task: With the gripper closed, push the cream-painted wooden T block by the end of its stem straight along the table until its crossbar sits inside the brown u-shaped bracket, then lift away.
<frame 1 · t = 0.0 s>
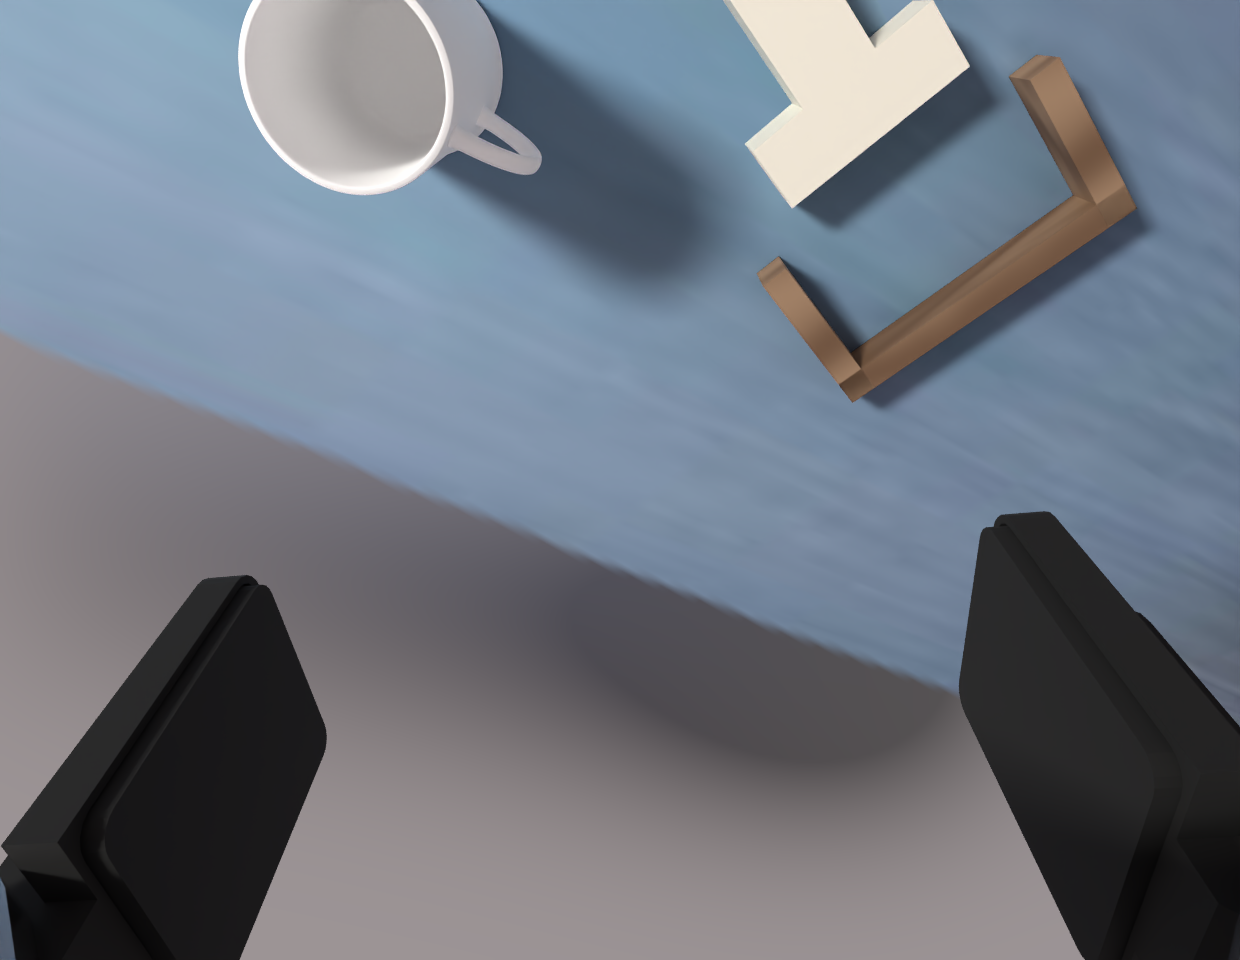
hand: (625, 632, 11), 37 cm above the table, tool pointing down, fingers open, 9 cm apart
t block: (808, 49, 40), on the table
mug: (447, 86, 41), on the table
brown u-shaped bracket: (925, 229, 44), on the table
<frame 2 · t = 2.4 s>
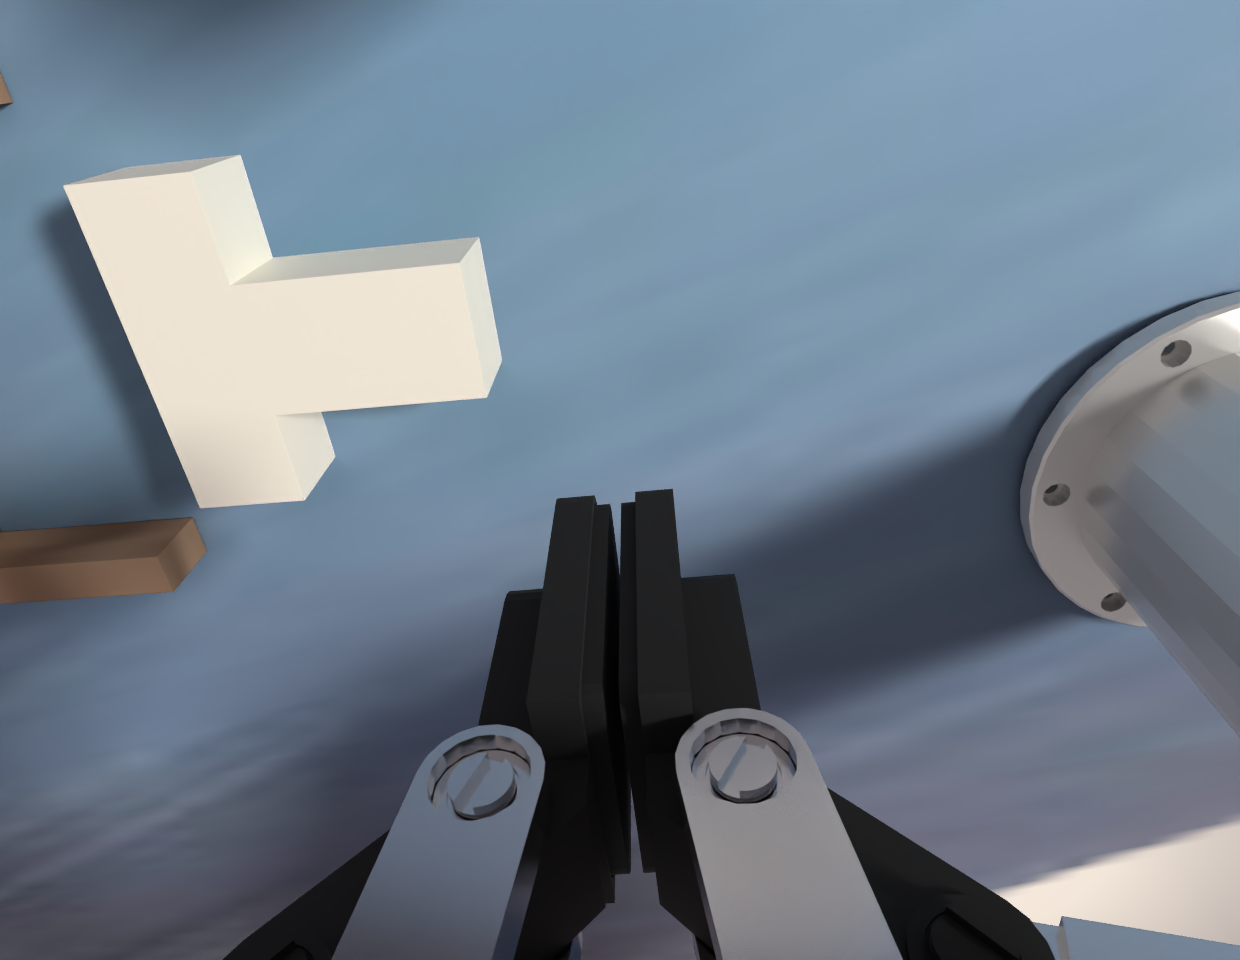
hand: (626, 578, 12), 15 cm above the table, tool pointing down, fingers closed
t block: (337, 315, 26), on the table
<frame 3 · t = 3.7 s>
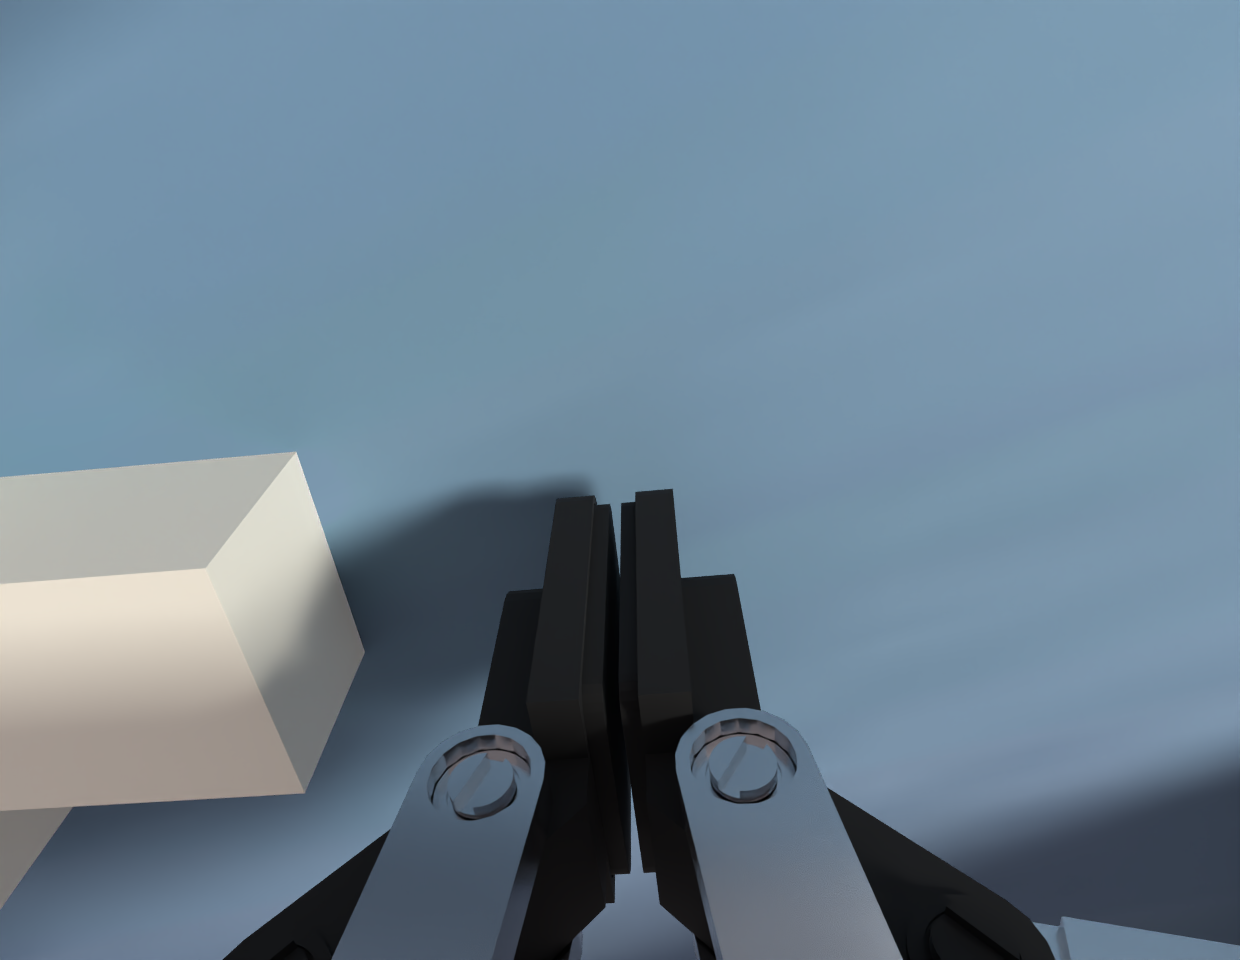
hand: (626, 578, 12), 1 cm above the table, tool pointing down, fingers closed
t block: (44, 580, 14), on the table
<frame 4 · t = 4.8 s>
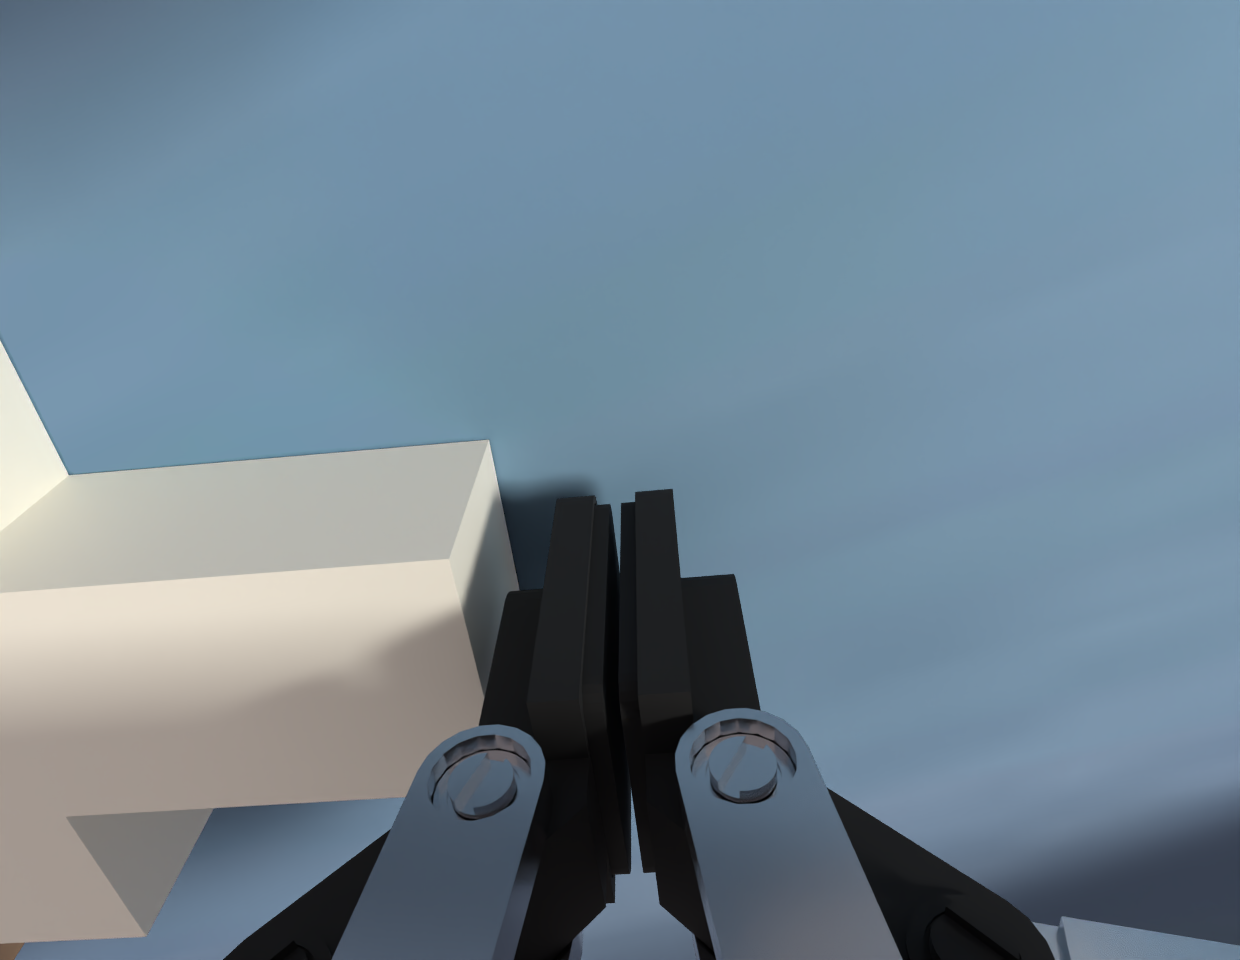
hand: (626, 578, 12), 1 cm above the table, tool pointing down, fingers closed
t block: (209, 573, 13), on the table, touching gripper
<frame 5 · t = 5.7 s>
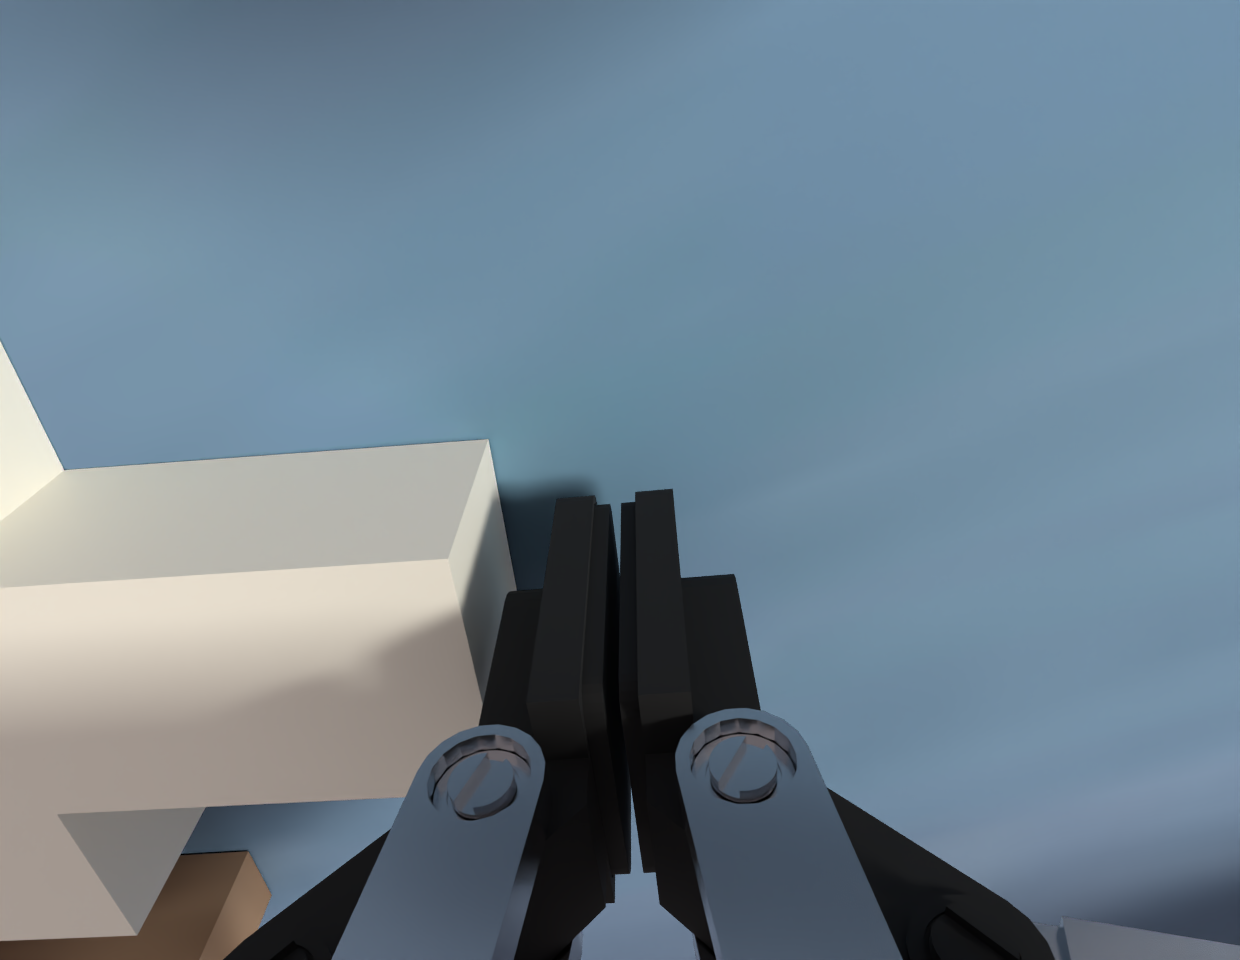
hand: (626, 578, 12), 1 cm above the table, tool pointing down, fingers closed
t block: (205, 570, 13), on the table, touching gripper
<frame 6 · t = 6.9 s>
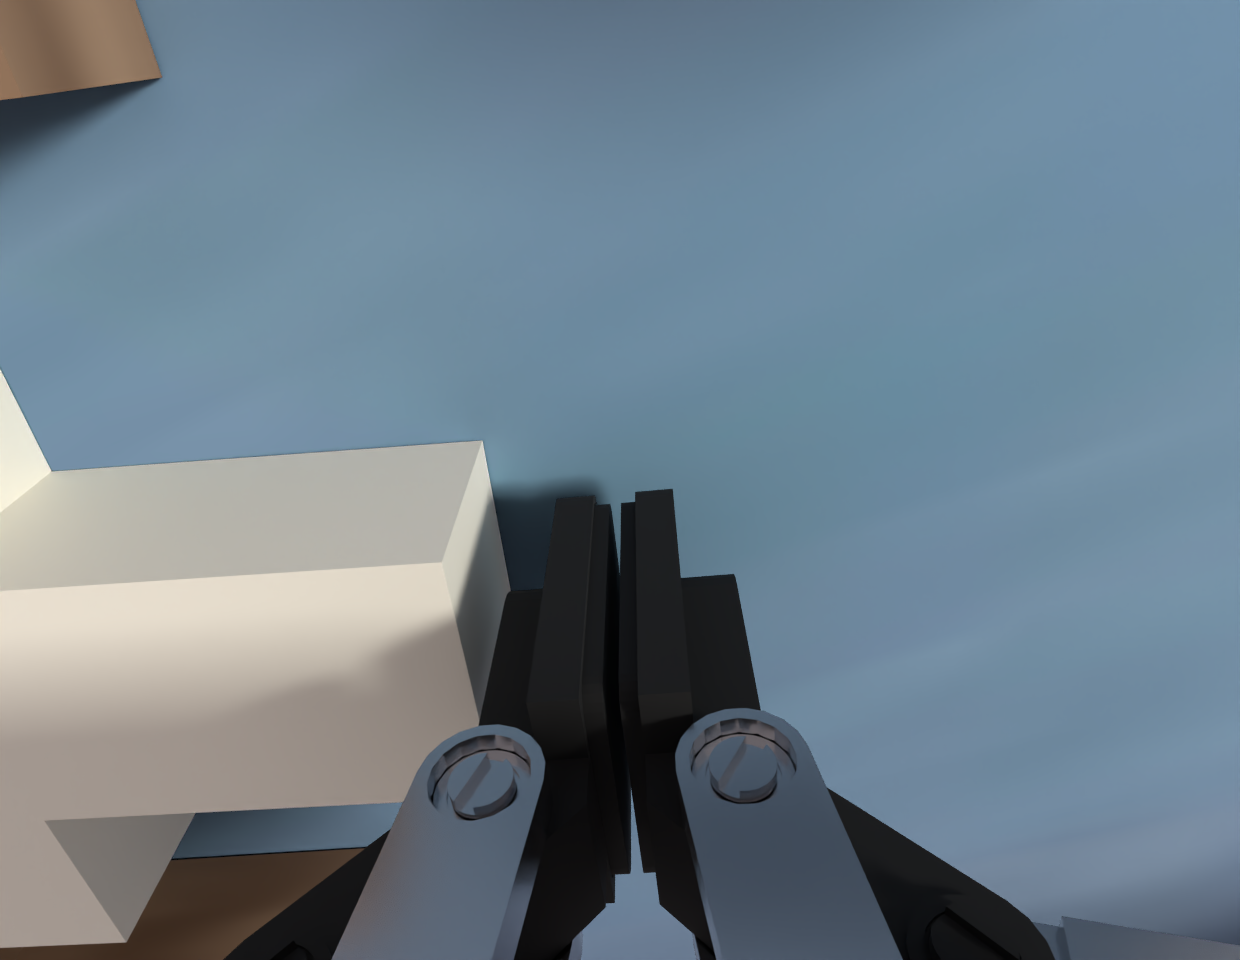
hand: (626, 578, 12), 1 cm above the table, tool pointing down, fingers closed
t block: (195, 573, 13), on the table, touching gripper
brown u-shaped bracket: (91, 585, 13), on the table
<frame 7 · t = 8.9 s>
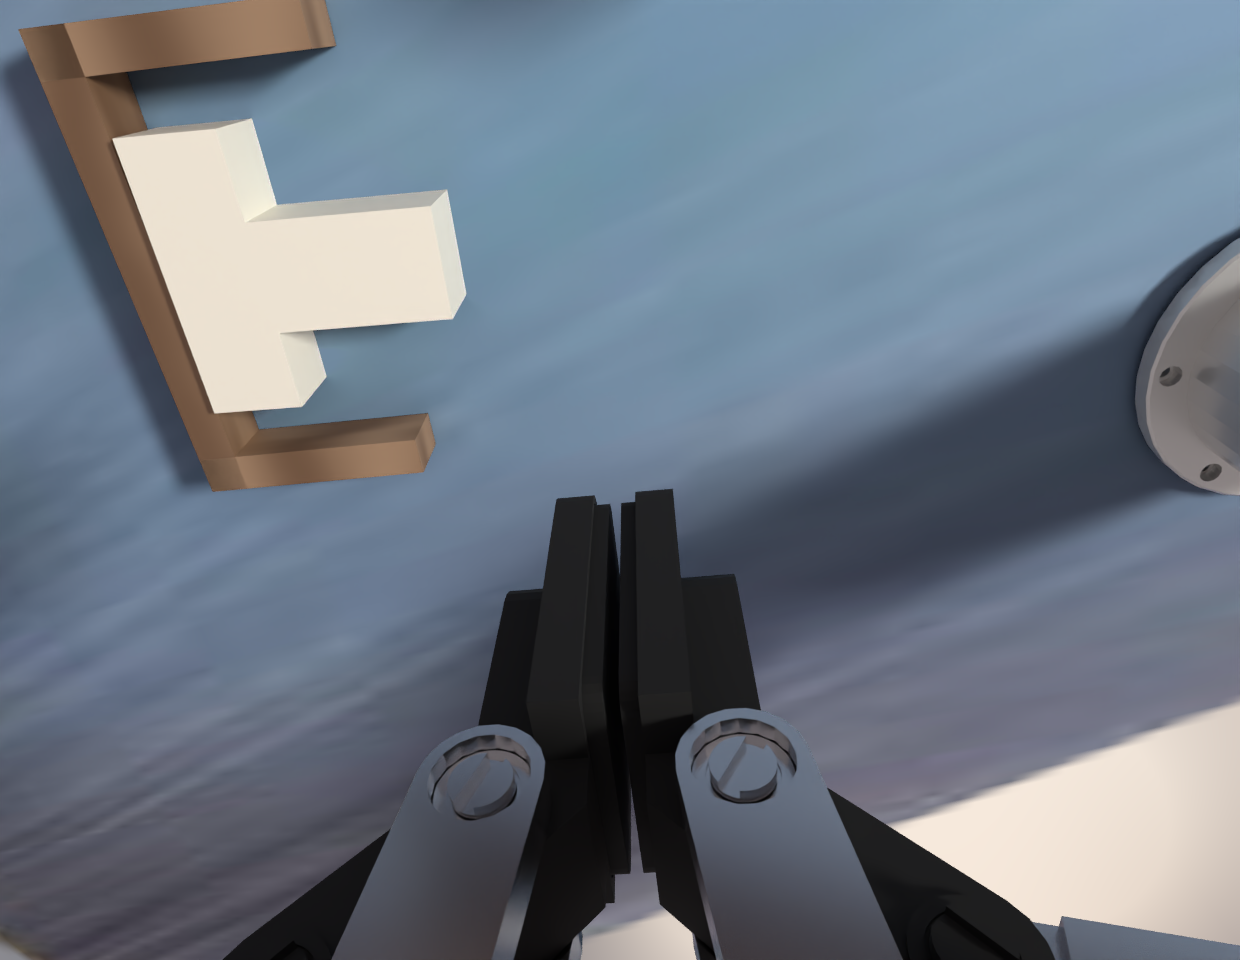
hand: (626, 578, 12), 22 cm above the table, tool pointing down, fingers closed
t block: (330, 254, 31), on the table
brown u-shaped bracket: (286, 261, 31), on the table
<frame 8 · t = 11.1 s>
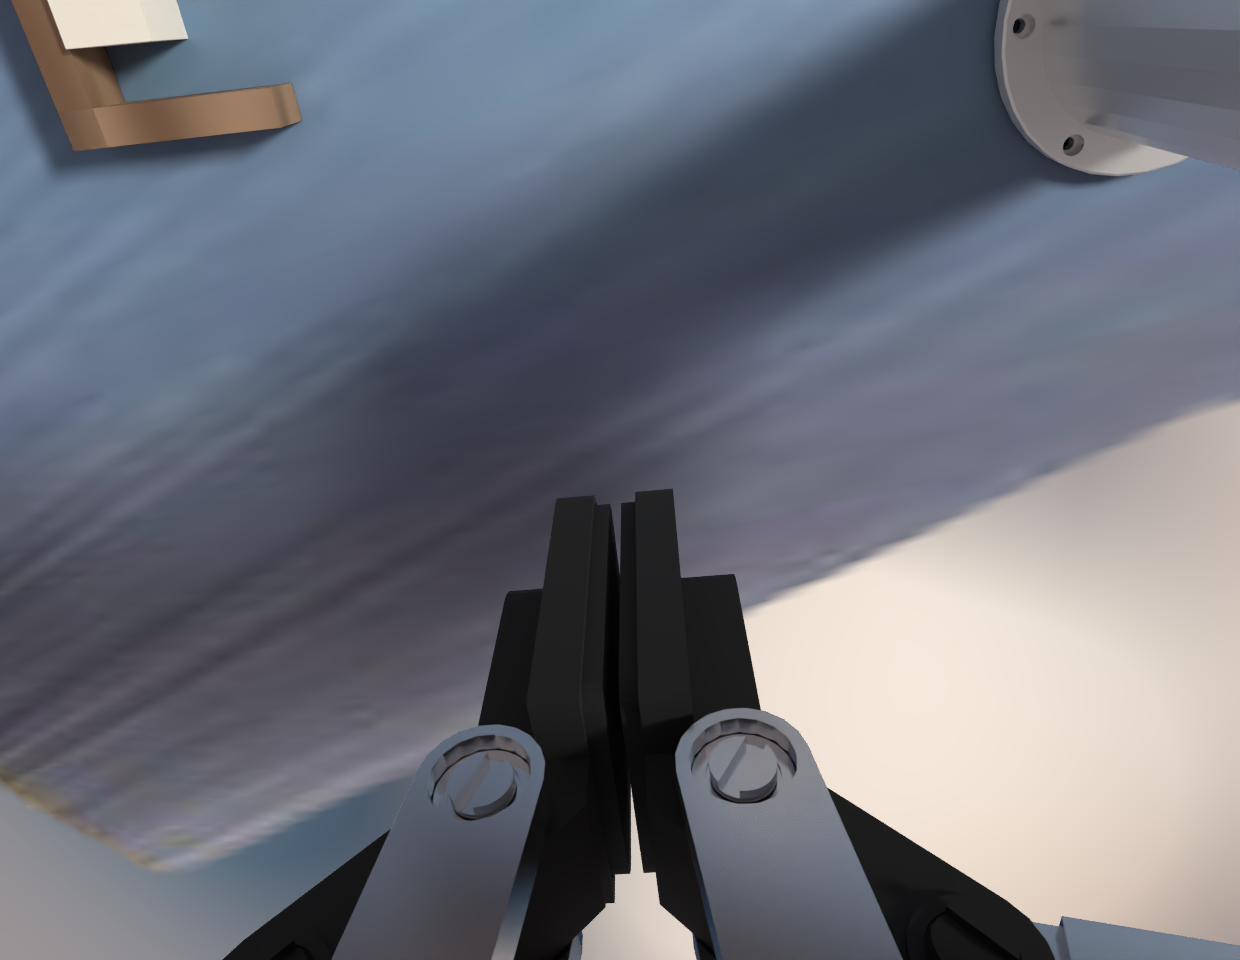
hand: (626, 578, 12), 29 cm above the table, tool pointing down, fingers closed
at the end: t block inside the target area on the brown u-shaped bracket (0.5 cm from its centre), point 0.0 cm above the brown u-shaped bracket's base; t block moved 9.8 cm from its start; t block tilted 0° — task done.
